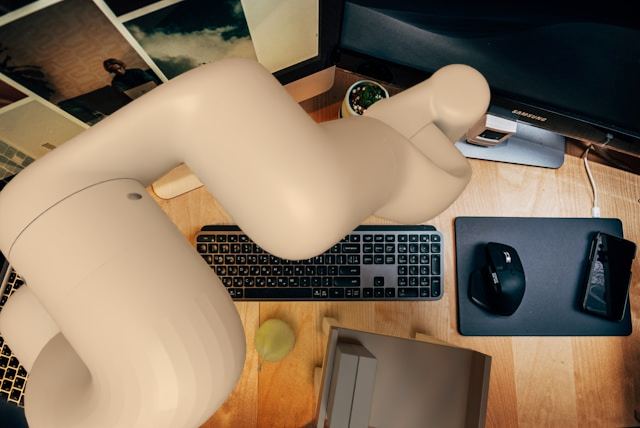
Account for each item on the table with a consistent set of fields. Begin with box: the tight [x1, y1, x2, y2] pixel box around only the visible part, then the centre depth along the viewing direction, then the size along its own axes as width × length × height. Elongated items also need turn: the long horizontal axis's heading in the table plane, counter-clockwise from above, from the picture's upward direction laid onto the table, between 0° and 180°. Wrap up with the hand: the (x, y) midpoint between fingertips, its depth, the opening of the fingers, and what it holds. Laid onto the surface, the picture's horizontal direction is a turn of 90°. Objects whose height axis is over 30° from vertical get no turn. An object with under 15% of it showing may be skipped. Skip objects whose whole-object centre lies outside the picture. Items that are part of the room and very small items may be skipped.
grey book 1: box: [326, 342, 359, 428], centre depth 49 cm, size 2×8×10 cm, turn 171°
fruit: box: [253, 318, 297, 374], centre depth 71 cm, size 7×8×12 cm
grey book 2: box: [348, 344, 378, 428], centre depth 49 cm, size 2×8×10 cm, turn 170°
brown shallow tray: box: [315, 326, 493, 428], centre depth 53 cm, size 19×11×5 cm, turn 80°
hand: (403, 164), depth 78 cm, fingers open, 8 cm apart
